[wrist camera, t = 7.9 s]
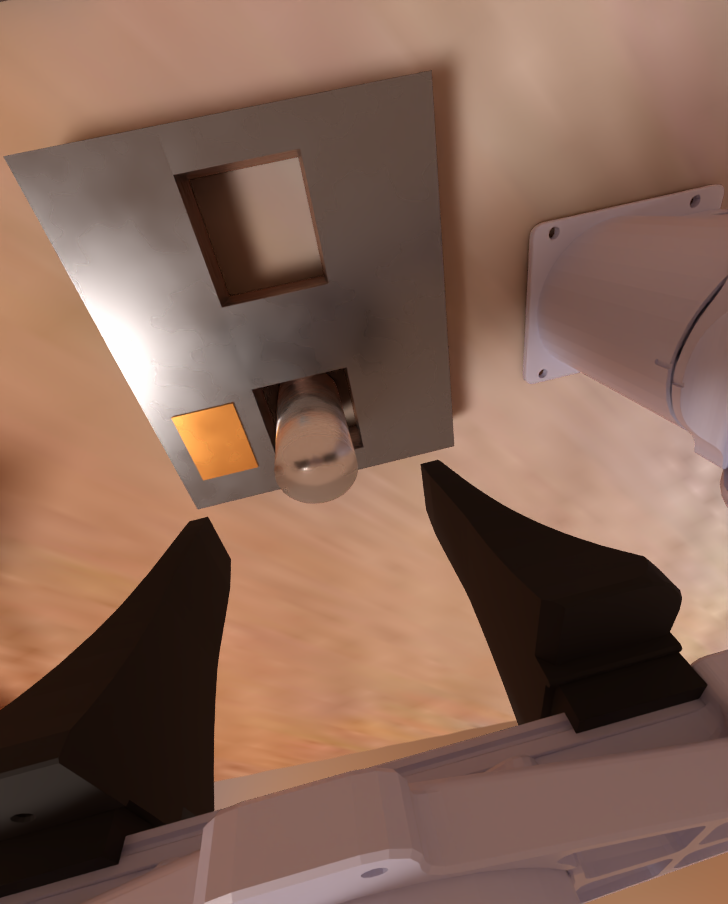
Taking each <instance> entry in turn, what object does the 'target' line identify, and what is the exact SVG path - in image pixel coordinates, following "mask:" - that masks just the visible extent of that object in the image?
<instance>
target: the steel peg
mask: <svg viewBox="0 0 728 904" xmlns="http://www.w3.org/2000/svg"><path fill="white" fill-rule="evenodd" d="M357 472H358V463H357V459H356V455H355V451H354V448H353V444H352V440H351V437H350V433H349V429H348V426H347V422H346V418H345V415H344V411H343V407H342V403H341V400H340V396H339V392H338V389H337V386H336V384H335V382H334V381H333V379H332V378H331V377H330V376H329V375H328V374H326V373H325V372H324V373H320V374H316V375H311V376H307V377H303V378H299V379H294V380H290V381H286V382H282V383H281V385H280V387H279V391H278V407H277V427H276V447H275V466H274V474H275V479H276V482H277V484H278V486H279V487H280V488H281V490H282V491H283V492H284V493H285V494H286V495H288V496H289V497H291V498H293V499H295V500H297V501H300V502H304V503H324V502H328V501H331V500H334V499H336V498H338V497H340V496H341V495H343V494H344V493H345V492H346V491H347V490H348V489H349V488H350V487H351V486H352V485H353V483H354V481H355V479H356V476H357Z"/></svg>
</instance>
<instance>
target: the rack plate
mask: <svg viewBox="0 0 728 904" xmlns="http://www.w3.org/2000/svg"><path fill="white" fill-rule="evenodd" d="M3 157H4V158H5V160H6V162H7V164H8V166H9V167H10V169H11V171H12V173H13V175H14V177H15V178H16V180H17V182H18V184H19V186H20V187H21V189H22V191H23V193H24V195H25V197H26V198H27V200H28V202H29V204H30V206H31V207H32V209H33V211H34V213H35V215H36V217H37V218H38V220H39V222H40V224H41V226H42V227H43V229H44V231H45V233H46V235H47V236H48V238H49V240H50V242H51V244H52V246H53V247H54V249H55V251H56V253H57V255H58V256H59V258H60V260H61V262H62V264H63V266H64V267H65V269H66V271H67V273H68V275H69V276H70V278H71V280H72V282H73V284H74V286H75V287H76V289H77V291H78V293H79V295H80V296H81V298H82V300H83V302H84V304H85V306H86V307H87V309H88V311H89V313H90V315H91V316H92V318H93V320H94V322H95V324H96V326H97V327H98V329H99V331H100V333H101V335H102V336H103V338H104V340H105V342H106V344H107V345H108V347H109V349H110V351H111V353H112V355H113V356H114V358H115V360H116V362H117V364H118V365H119V367H120V369H121V371H122V373H123V375H124V376H125V378H126V380H127V382H128V384H129V385H130V387H131V389H132V391H133V393H134V395H135V396H136V398H137V400H138V402H139V404H140V405H141V407H142V409H143V411H144V413H145V415H146V416H147V418H148V420H149V422H150V424H151V425H152V427H153V429H154V431H155V433H156V435H157V436H158V438H159V440H160V442H161V444H162V445H163V447H164V449H165V451H166V453H167V454H168V456H169V458H170V460H171V462H172V464H173V465H174V467H175V469H176V471H177V473H178V474H179V476H180V478H181V480H182V482H183V484H184V485H185V487H186V489H187V491H188V493H189V494H190V496H191V498H192V500H193V502H194V504H195V505H196V507H197V509H201V508H205V507H209V506H214V505H218V504H222V503H226V502H230V501H234V500H238V499H242V498H246V497H250V496H254V495H258V494H262V493H266V492H270V491H274V490H278V489H281V488H280V487H279V486H278V484H277V482H276V479H275V474H274V466H275V447H276V428H275V425H274V422H273V419H272V416H271V414H270V411H269V408H268V405H267V402H266V399H265V396H264V394H263V391H262V388H261V387H264V386H269V385H273V384H277V383H282V382H286V381H290V380H294V379H299V378H303V377H307V376H311V375H316V374H320V373H324V372H328V371H333V370H337V369H341V368H344V370H345V374H346V379H347V384H348V388H349V393H350V397H351V402H352V407H353V411H354V416H355V420H356V425H354V426H350V427H348V429H349V433H350V437H351V440H352V444H353V448H354V451H355V455H356V459H357V463H358V470H359V469H363V468H367V467H371V466H375V465H379V464H383V463H388V462H392V461H396V460H400V459H404V458H408V457H412V456H416V455H420V454H424V453H428V452H432V451H436V450H440V449H444V448H448V447H452V446H454V434H453V418H452V401H451V384H450V368H449V351H448V335H447V318H446V301H445V285H444V268H443V252H442V235H441V219H440V202H439V185H438V169H437V152H436V136H435V119H434V102H433V86H432V70H431V71H426V72H421V73H416V74H411V75H406V76H401V77H396V78H391V79H386V80H381V81H376V82H371V83H366V84H361V85H356V86H351V87H346V88H341V89H336V90H331V91H326V92H321V93H316V94H312V95H307V96H302V97H297V98H292V99H287V100H282V101H277V102H272V103H267V104H262V105H257V106H252V107H247V108H242V109H237V110H232V111H227V112H222V113H217V114H212V115H207V116H202V117H197V118H192V119H187V120H182V121H177V122H172V123H167V124H162V125H157V126H152V127H147V128H142V129H137V130H133V131H128V132H123V133H118V134H113V135H108V136H103V137H98V138H93V139H88V140H83V141H78V142H73V143H68V144H63V145H58V146H53V147H48V148H43V149H38V150H33V151H28V152H23V153H18V154H13V155H8V156H3ZM295 157H298V158H299V162H300V167H301V172H302V176H303V181H304V185H305V190H306V195H307V199H308V204H309V208H310V213H311V218H312V222H313V227H314V231H315V236H316V241H317V245H318V250H319V254H320V259H321V264H322V268H323V273H324V275H322V276H318V277H313V278H309V279H304V280H300V281H295V282H291V283H286V284H282V285H277V286H273V287H268V288H264V289H259V290H255V291H250V292H246V293H241V294H237V295H233V296H229V294H228V291H227V288H226V285H225V282H224V279H223V277H222V274H221V271H220V268H219V265H218V262H217V259H216V257H215V254H214V251H213V248H212V245H211V242H210V239H209V237H208V234H207V231H206V228H205V225H204V222H203V219H202V217H201V214H200V211H199V208H198V205H197V202H196V199H195V197H194V194H193V191H192V188H191V185H190V182H189V180H190V179H195V178H199V177H204V176H209V175H214V174H219V173H223V172H228V171H233V170H238V169H243V168H247V167H252V166H257V165H262V164H267V163H271V162H276V161H281V160H286V159H291V158H295Z"/></svg>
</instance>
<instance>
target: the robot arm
mask: <svg viewBox="0 0 728 904" xmlns="http://www.w3.org/2000/svg"><path fill="white" fill-rule="evenodd" d="M723 197H724V187H723V186H722V185H718V184H717V185H708V186H704V187H699V188H695V189H690V190H686V191H681V192H677V193H673V194H668V195H664V196H659V197H655V198H650V199H646V200H641V201H637V202H632V203H628V204H623V205H619V206H614V207H610V208H605V209H601V210H596V211H592V212H587V213H583V214H578V215H574V216H569V217H565V218H560V219H556V220H551V221H547V222H542V223H539V224H537V225H536V226H535V227H534V228H533V229H532V231H531V233H530V241H529V262H528V282H527V302H526V322H525V343H524V363H523V379H524V380H525V381H526V382H527V383H529V384H534V383H539V382H543V381H547V380H551V379H555V378H559V377H563V376H567V375H572V374H576V373H580V372H581V373H583V374H585V375H587V376H589V377H590V378H592V379H594V380H596V381H598V382H599V383H601V384H603V385H605V386H607V387H609V388H610V389H612V390H614V391H616V392H618V393H619V394H621V395H623V396H625V397H627V398H628V399H630V400H632V401H634V402H636V403H638V404H639V405H641V406H643V407H645V408H647V409H648V410H650V411H652V412H654V413H656V414H657V415H659V416H661V417H663V418H665V419H667V420H668V421H670V422H672V423H674V424H676V425H677V426H679V427H681V428H683V429H685V430H687V431H688V432H689V433H690V434H692V436H693V438H694V441H695V448H694V452H695V453H697V454H698V455H700V456H702V457H704V458H705V459H707V460H709V461H710V462H712V463H714V464H715V465H717V466H719V467H720V468H722V469H723V472H722V475H721V481H720V488H721V495H722V497H723V500H724V502H725V504H726V506H727V507H728V209H720V207H721V204H722V200H723ZM692 198H693V202H692V204H691V205H690V201H691V199H692ZM551 228H554V230H555V232H554V235H553V237H552V238H549V231H550V230H551ZM543 369H544V371H543V373H542V374H541V375H539V372H540V371H541V370H543ZM421 471H422V479H423V488H424V496H425V504H426V511H427V513H428V516H429V519H430V521H431V524H432V526H433V529H434V532H435V534H436V536H437V538H438V540H439V542H440V544H441V546H442V548H443V550H444V551H445V553H446V555H447V557H448V559H449V561H450V563H451V565H452V566H453V568H454V570H455V572H456V574H457V576H458V578H459V579H460V581H461V583H462V585H463V587H464V589H465V591H466V593H467V595H468V597H469V599H470V601H471V604H472V606H473V609H474V611H475V614H476V616H477V618H478V621H479V623H480V626H481V628H482V631H483V633H484V636H485V638H486V641H487V643H488V646H489V648H490V651H491V653H492V656H493V658H494V661H495V664H496V666H497V669H498V671H499V674H500V677H501V679H502V682H503V685H504V687H505V690H506V692H507V695H508V698H509V701H510V703H511V706H512V709H513V712H514V714H515V717H516V720H517V723H518V726H515V727H511V728H508V729H504V730H500V731H497V732H493V733H490V734H486V735H483V736H480V737H476V738H472V739H469V740H465V741H461V742H458V743H454V744H451V745H447V746H444V747H440V748H437V749H433V750H429V751H426V752H422V753H419V754H415V755H412V756H409V757H405V758H401V759H398V760H394V761H390V762H387V763H383V764H380V765H377V766H373V767H369V768H366V769H361V770H355V771H350V772H346V773H343V774H339V775H335V776H332V777H328V778H325V779H321V780H318V781H314V782H311V783H307V784H304V785H300V786H297V787H293V788H290V789H286V790H282V791H279V792H276V793H272V794H268V795H264V796H261V797H257V798H254V799H250V800H247V801H243V802H240V803H237V804H235V805H233V806H230V807H227V808H224V809H220V810H217V811H214V723H215V698H216V682H217V667H218V659H219V652H220V646H221V640H222V634H223V628H224V622H225V617H226V611H227V604H228V598H229V592H230V578H231V559H230V557H229V555H228V553H227V551H226V549H225V547H224V546H223V544H222V542H221V540H220V538H219V536H218V534H217V533H216V531H215V529H214V527H213V525H212V523H211V521H210V520H209V518H208V517H205V518H201V519H197V520H193V521H190V522H189V523H188V524H187V525H186V526H185V527H184V529H183V530H182V531H181V532H180V534H179V535H178V536H177V538H176V539H175V540H174V542H173V543H172V544H171V545H170V547H169V548H168V549H167V551H166V552H165V553H164V554H163V556H162V557H161V558H160V560H159V561H158V562H157V563H156V565H155V566H154V567H153V568H152V570H151V571H150V572H149V573H148V575H147V576H146V577H145V578H144V579H143V580H142V582H141V583H140V584H139V585H138V586H137V587H136V589H135V590H134V591H133V592H132V593H131V595H130V596H129V597H128V598H127V599H126V600H125V601H124V602H123V604H122V605H121V606H120V607H119V608H118V609H117V610H116V611H115V612H114V613H113V614H112V615H111V616H110V617H109V618H108V619H107V620H106V621H105V622H104V623H103V624H102V625H101V626H100V627H99V628H98V629H97V630H96V631H95V632H94V633H93V634H92V635H91V636H90V637H89V638H88V639H87V640H85V641H84V642H83V643H82V644H81V645H80V646H79V647H78V648H77V649H75V650H74V651H73V652H72V653H71V654H70V655H69V656H68V657H67V658H66V659H64V660H63V661H62V662H61V663H60V664H59V665H57V666H56V667H55V668H54V669H53V670H51V671H50V672H49V673H48V674H47V675H45V676H44V677H43V678H42V679H41V680H39V681H38V682H37V683H35V684H34V685H33V686H32V687H30V688H29V689H28V690H27V691H25V692H24V693H23V694H22V695H20V696H19V697H18V698H16V699H15V700H14V701H12V702H11V703H10V704H8V705H7V706H6V707H4V708H3V709H1V710H0V904H584V903H587V902H590V901H593V900H596V899H598V898H601V897H604V896H607V895H609V894H612V893H615V892H618V891H621V890H623V889H626V888H629V887H632V886H634V885H637V884H640V883H643V882H645V881H648V880H651V879H654V878H657V877H659V876H662V875H665V874H667V873H670V872H673V871H676V870H679V869H681V868H684V867H687V866H690V865H693V864H695V863H698V862H701V861H703V860H706V859H709V858H712V857H715V856H718V855H721V854H723V853H726V852H728V650H725V651H721V652H718V653H714V654H710V655H707V656H704V657H702V658H699V659H698V660H696V661H695V662H693V663H692V664H691V665H690V664H689V663H688V662H687V661H686V660H685V659H684V658H683V656H682V655H681V654H680V653H679V652H680V651H681V650H682V646H681V644H680V643H679V642H678V641H677V639H676V638H675V637H674V636H673V635H672V634H671V633H670V630H671V628H672V626H673V624H674V621H675V619H676V617H677V614H678V612H679V610H680V606H681V602H682V596H681V592H680V590H679V589H678V588H677V587H676V586H675V585H674V584H673V583H672V582H671V581H670V580H669V579H668V578H667V577H666V576H665V575H664V574H663V573H662V572H661V571H660V570H659V569H658V568H657V567H656V566H655V565H654V564H652V563H651V562H650V561H649V560H648V559H647V558H645V557H644V556H640V555H636V554H632V553H628V552H624V551H620V550H617V549H613V548H609V547H605V546H601V545H598V544H595V543H592V542H589V541H586V540H582V539H579V538H576V537H574V536H571V535H568V534H565V533H562V532H560V531H558V530H555V529H553V528H550V527H548V526H545V525H543V524H540V523H538V522H536V521H534V520H531V519H529V518H527V517H525V516H523V515H521V514H519V513H517V512H515V511H513V510H511V509H510V508H508V507H506V506H504V505H502V504H501V503H499V502H497V501H496V500H494V499H493V498H491V497H489V496H488V495H486V494H485V493H483V492H482V491H480V490H479V489H477V488H476V487H474V486H473V485H471V484H470V483H469V482H467V481H466V480H465V479H463V478H462V477H460V476H459V475H458V474H456V473H455V472H454V471H453V470H451V469H450V468H449V467H447V466H446V465H445V464H444V463H442V462H441V461H439V460H435V461H431V462H427V463H423V464H421Z"/></svg>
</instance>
